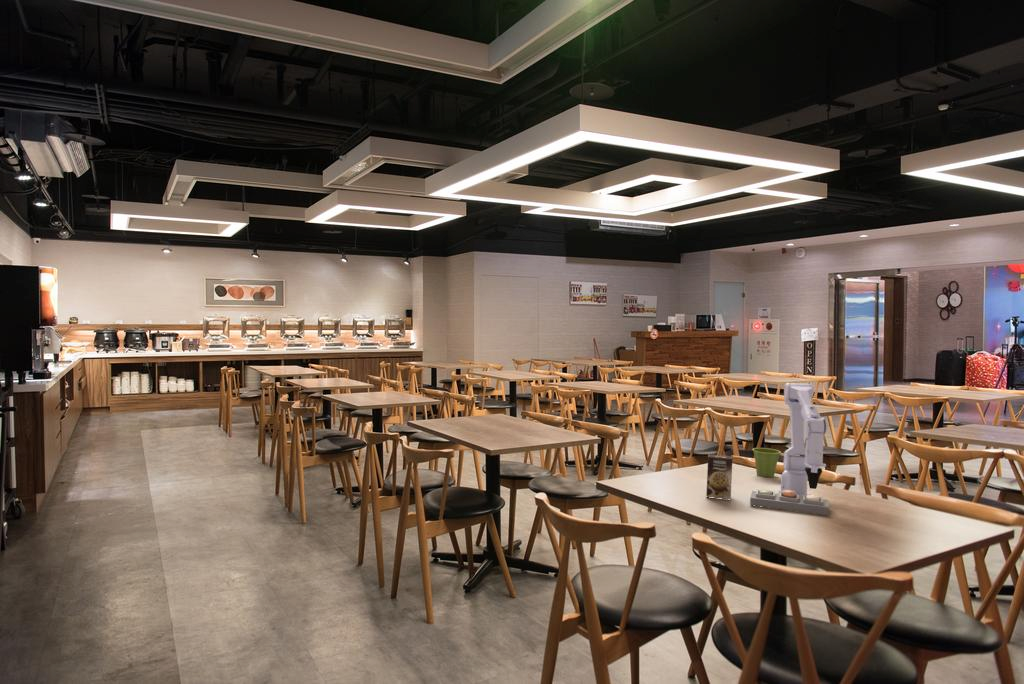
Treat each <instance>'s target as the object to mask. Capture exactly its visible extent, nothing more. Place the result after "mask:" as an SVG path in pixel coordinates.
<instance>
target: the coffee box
mask: <svg viewBox="0 0 1024 684" xmlns="http://www.w3.org/2000/svg"><path fill="white" fill-rule="evenodd" d="M706 475H707V476H706V493H705V495H706V496H707V497H714V498H722V499H730V500H732V483H733V482H732V479H733V476H732V475H733V456H732V455H721V454H712V453H709V454H707V474H706ZM706 496H705V497H706Z"/></svg>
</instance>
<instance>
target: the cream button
mask: <svg viewBox="0 0 1024 684" xmlns="http://www.w3.org/2000/svg"><path fill="white" fill-rule="evenodd" d="M820 497H821V496H817V495H812V494H811V495H807V496H806V499H807V500H816V501H820Z"/></svg>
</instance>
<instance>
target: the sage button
mask: <svg viewBox="0 0 1024 684" xmlns="http://www.w3.org/2000/svg"><path fill="white" fill-rule="evenodd" d="M758 490H759V494H766V495H772V491H773V490H770V489H769V490H768V489H758Z"/></svg>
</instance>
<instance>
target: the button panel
mask: <svg viewBox="0 0 1024 684" xmlns="http://www.w3.org/2000/svg"><path fill="white" fill-rule="evenodd" d="M759 490H760V489H756V490H751V494H750V497H749V498H750V499H749V506H750V505H755V506H762V507H761V508H763V507H769V508H768V509H771V508H776V509H775V510H778V509H782V510H781V511H786V510H791V511H790V512H794V511H798V512H797V513H802V512H805V513H804V514H809V513H812V514H811V515H817V514H821V515H820V516H825V515H828V516H827V517H829V515H830V506H829V501H828V500H829V499H825V498H823V497H822V496H819V497H820V501H816V500H807V499H806V495H803V497H800V496H798V494H796V496H795V497H786V496H783V493H782V492H779V493H776V491H773V490H771V491H772V495H766V494H759ZM755 506H754V507H755Z"/></svg>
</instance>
